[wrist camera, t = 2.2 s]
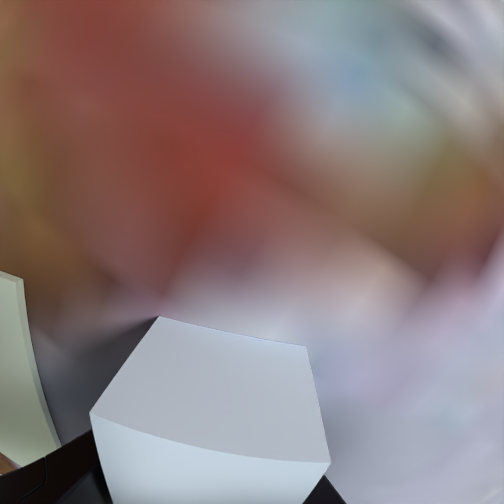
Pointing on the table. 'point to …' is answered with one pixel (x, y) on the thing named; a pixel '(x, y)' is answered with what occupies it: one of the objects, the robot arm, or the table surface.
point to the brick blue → (210, 420)
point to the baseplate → (21, 383)
